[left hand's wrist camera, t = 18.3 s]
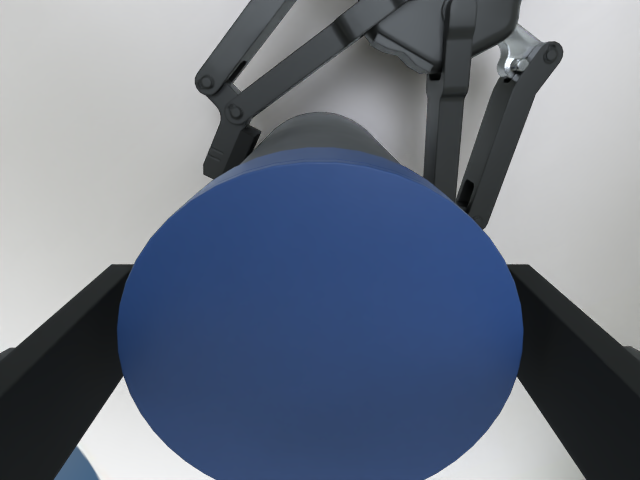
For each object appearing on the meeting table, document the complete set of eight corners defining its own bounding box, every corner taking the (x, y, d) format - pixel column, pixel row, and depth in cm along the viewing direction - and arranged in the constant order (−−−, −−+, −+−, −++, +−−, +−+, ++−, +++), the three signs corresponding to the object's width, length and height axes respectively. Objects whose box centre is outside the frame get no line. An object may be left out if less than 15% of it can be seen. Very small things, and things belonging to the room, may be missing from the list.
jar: (275, 91, 27) (183, 107, 9) (409, 140, 28) (573, 245, 10) (237, 221, 30) (110, 432, 12) (358, 261, 31) (412, 509, 13)
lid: (85, 331, 13) (40, 378, 11) (300, 58, 10) (295, 51, 8) (332, 489, 15) (334, 552, 13) (561, 304, 12) (608, 346, 10)
